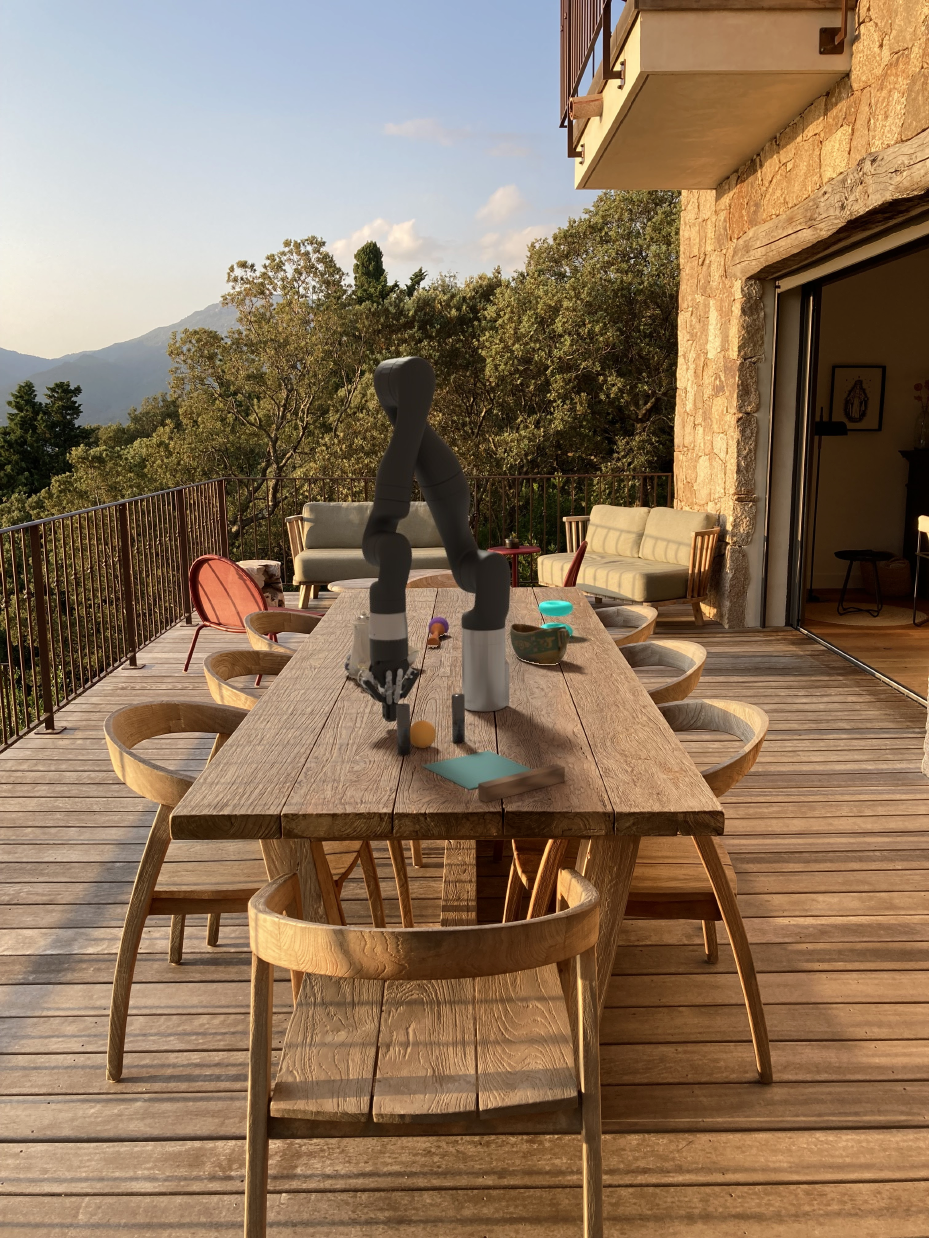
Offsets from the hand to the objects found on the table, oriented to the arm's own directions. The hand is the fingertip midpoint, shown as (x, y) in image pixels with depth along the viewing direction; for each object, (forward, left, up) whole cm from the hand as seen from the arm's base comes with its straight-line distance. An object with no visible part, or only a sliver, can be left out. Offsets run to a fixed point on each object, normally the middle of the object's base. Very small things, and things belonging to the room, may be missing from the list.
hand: (390, 720), depth 185 cm
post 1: (+6, +15, -2) cm, 16 cm away
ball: (+1, +14, +1) cm, 14 cm away
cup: (-61, -29, -2) cm, 68 cm away
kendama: (-54, -67, -2) cm, 86 cm away
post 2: (-6, +15, -2) cm, 16 cm away
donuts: (-85, -51, -2) cm, 99 cm away
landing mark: (0, +30, -2) cm, 30 cm away
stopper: (0, +42, -2) cm, 42 cm away
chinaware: (-19, -40, -2) cm, 44 cm away
